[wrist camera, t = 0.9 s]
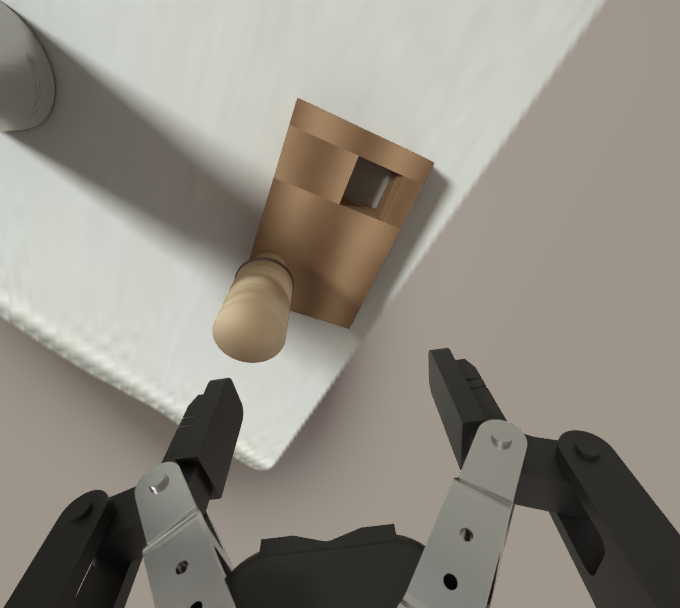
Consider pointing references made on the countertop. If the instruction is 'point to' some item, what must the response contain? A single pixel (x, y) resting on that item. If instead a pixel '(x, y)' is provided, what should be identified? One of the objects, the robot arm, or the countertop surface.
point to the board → (334, 212)
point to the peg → (256, 310)
